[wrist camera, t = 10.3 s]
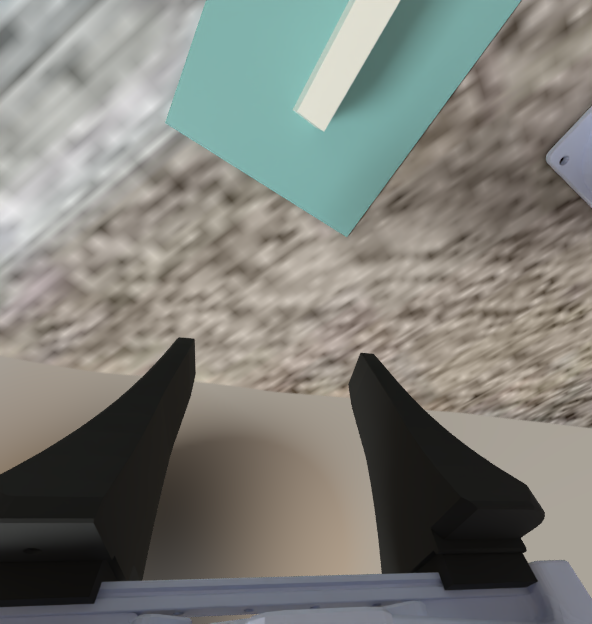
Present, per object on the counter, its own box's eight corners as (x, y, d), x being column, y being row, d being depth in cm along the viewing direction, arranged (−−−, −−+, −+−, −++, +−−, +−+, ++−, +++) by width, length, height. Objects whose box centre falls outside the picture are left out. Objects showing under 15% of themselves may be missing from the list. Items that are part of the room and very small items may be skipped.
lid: (525, -17, 14) (610, -57, 11) (344, 232, 20) (359, 259, 17) (314, -305, 10) (338, -532, 6) (169, 122, 16) (141, 127, 13)
